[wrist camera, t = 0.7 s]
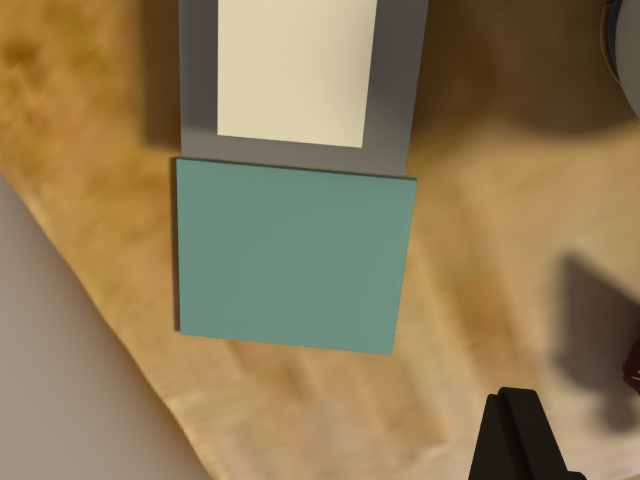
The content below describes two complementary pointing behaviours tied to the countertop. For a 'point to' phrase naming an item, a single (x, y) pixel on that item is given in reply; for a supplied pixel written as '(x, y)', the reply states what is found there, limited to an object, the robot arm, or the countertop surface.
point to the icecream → (633, 368)
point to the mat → (291, 254)
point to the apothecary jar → (622, 46)
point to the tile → (294, 69)
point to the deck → (374, 157)
